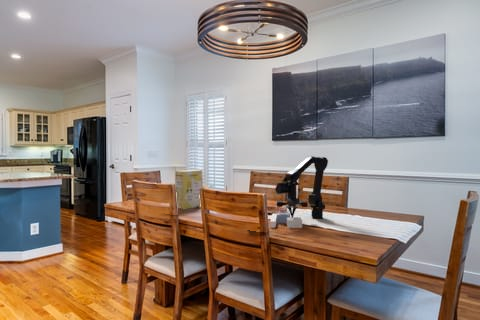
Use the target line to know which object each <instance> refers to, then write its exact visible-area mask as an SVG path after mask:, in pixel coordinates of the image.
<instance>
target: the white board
mask: <svg viewBox="0 0 480 320" xmlns="http://www.w3.org/2000/svg"><path fill="white" fill-rule="evenodd" d="M277 224H278V223H277V213H272V214H271V217H270V222H269V228H276V226H277Z"/></svg>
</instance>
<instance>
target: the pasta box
mask: <svg viewBox="0 0 480 320" xmlns="http://www.w3.org/2000/svg"><path fill="white" fill-rule="evenodd" d="M174 172H175V173H174V177H175V178H174V182H175V183H174V185H176V192H177V204H178V208H177V209H180V208H181V209H180V210H189V209H193V208H198V207H197V206H200V198H199V188H203V170H201V169H200V170H199V169H188V170H187V169H186V170H175V171H174ZM200 207H201V206H200ZM188 208H189V209H188Z"/></svg>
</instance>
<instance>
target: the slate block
mask: <svg viewBox="0 0 480 320" xmlns="http://www.w3.org/2000/svg"><path fill="white" fill-rule="evenodd" d="M276 214H277V223H276V224H279V223H280V224H286V217H291V214H290V212H276Z"/></svg>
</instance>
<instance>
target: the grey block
mask: <svg viewBox="0 0 480 320" xmlns="http://www.w3.org/2000/svg"><path fill="white" fill-rule="evenodd" d="M285 224H286V226H287V228H288V229H303V219H302V218H301V217H300V216H299V217H294V216H293V217H291V216H290V217H286V223H285Z"/></svg>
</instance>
